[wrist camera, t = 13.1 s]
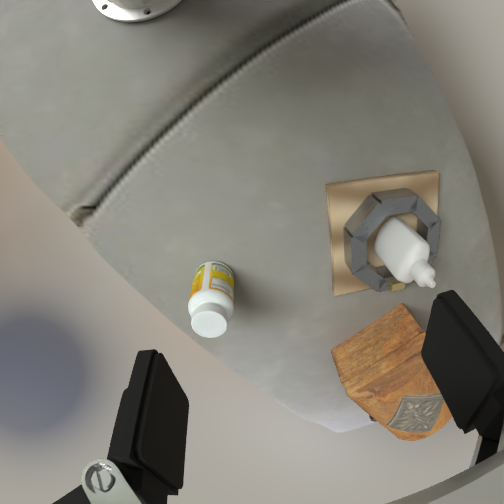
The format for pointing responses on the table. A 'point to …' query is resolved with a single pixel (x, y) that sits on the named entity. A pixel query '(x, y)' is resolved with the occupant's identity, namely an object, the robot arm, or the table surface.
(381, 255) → the eye dropper bottle
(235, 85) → the table surface
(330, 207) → the square wooden board
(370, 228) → the gray octagonal ring
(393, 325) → the wooden box
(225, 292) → the supplement bottle
